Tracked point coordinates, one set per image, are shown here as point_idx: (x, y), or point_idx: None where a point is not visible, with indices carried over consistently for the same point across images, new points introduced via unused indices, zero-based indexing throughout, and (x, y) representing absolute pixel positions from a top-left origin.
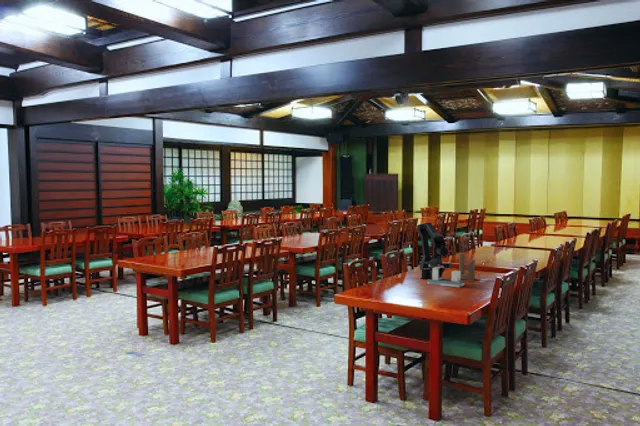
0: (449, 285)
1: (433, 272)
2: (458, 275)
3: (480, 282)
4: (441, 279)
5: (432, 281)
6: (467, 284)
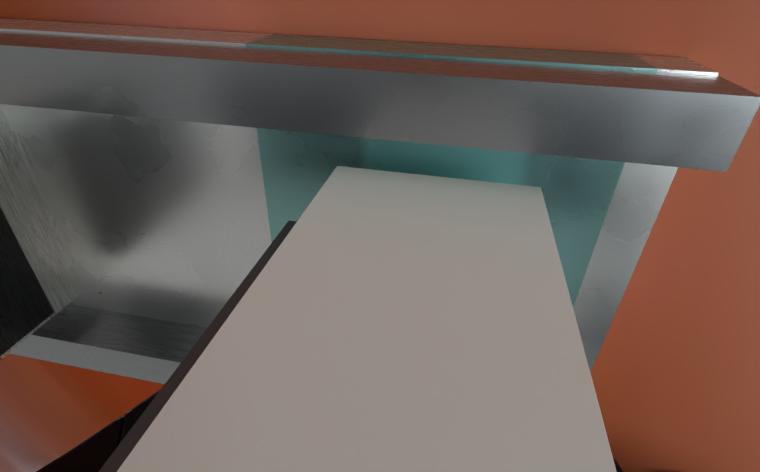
0: (17, 20)
1: (522, 407)
2: None
3: (23, 454)
4: None
5: (508, 66)
6: None
